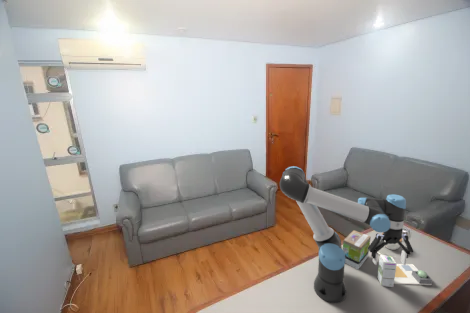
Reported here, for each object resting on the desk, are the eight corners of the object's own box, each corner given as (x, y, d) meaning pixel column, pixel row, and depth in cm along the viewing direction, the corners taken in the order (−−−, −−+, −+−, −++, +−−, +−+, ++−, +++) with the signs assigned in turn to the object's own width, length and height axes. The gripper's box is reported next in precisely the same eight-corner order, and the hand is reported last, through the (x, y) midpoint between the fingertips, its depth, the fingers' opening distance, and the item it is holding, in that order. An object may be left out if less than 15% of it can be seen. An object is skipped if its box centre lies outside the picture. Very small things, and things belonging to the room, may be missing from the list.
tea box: (358, 270, 124) (361, 247, 120) (340, 261, 131) (342, 239, 128) (368, 257, 133) (371, 235, 130) (351, 249, 141) (353, 229, 137)
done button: (420, 280, 113) (421, 275, 113) (415, 274, 117) (416, 270, 116) (428, 280, 113) (428, 275, 112) (422, 274, 116) (423, 270, 116)
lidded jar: (405, 252, 136) (407, 238, 134) (387, 252, 136) (389, 239, 134) (393, 241, 146) (395, 228, 144) (376, 242, 147) (378, 229, 144)
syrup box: (393, 287, 112) (397, 263, 108) (381, 286, 113) (384, 262, 109) (388, 278, 117) (392, 255, 114) (376, 277, 118) (379, 254, 115)
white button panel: (394, 284, 114) (395, 278, 113) (379, 264, 127) (380, 259, 126) (431, 285, 112) (432, 279, 111) (412, 265, 126) (413, 260, 125)
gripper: (370, 230, 105) (366, 268, 110) (426, 230, 102) (420, 268, 107) (362, 222, 112) (359, 257, 117) (415, 221, 109) (409, 258, 114)
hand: (388, 263), depth 112 cm, fingers open, 13 cm apart
